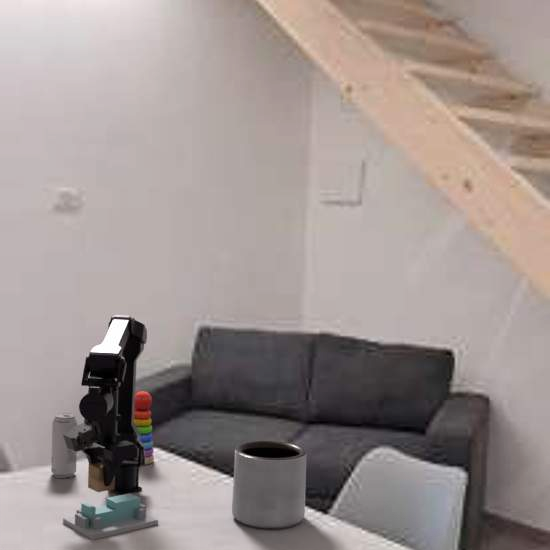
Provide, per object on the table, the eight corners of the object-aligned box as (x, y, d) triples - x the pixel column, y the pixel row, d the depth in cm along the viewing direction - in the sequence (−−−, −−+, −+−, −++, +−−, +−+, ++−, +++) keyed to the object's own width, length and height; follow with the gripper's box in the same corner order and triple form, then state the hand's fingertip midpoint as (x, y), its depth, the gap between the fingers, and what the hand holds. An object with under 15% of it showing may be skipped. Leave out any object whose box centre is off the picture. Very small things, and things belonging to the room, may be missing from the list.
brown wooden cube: (104, 484, 203) (105, 461, 203) (114, 489, 200) (115, 465, 200) (88, 487, 201) (88, 464, 200) (98, 492, 198) (98, 468, 197)
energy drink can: (58, 470, 240) (60, 411, 238) (80, 473, 238) (81, 414, 237) (46, 476, 234) (48, 416, 233) (68, 479, 232) (70, 419, 231)
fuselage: (129, 511, 208) (129, 493, 208) (139, 516, 205) (140, 498, 205) (80, 521, 200) (81, 503, 200) (90, 527, 197) (91, 508, 197)
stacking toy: (129, 467, 245) (131, 395, 244) (119, 459, 252) (121, 389, 251) (158, 464, 249) (160, 393, 247) (147, 456, 256) (149, 387, 254)
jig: (127, 509, 213) (127, 495, 212) (158, 524, 204) (158, 510, 203) (63, 522, 202) (63, 509, 202) (92, 539, 193) (92, 525, 193)
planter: (292, 535, 200) (296, 463, 199) (221, 525, 205) (224, 453, 204) (312, 512, 216) (315, 445, 214) (245, 503, 220) (248, 437, 219)
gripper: (47, 406, 201) (45, 478, 202) (93, 424, 187) (91, 502, 188) (93, 400, 208) (91, 470, 209) (141, 417, 194) (138, 492, 196)
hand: (101, 483), depth 200 cm, fingers closed on brown wooden cube, 4 cm apart
